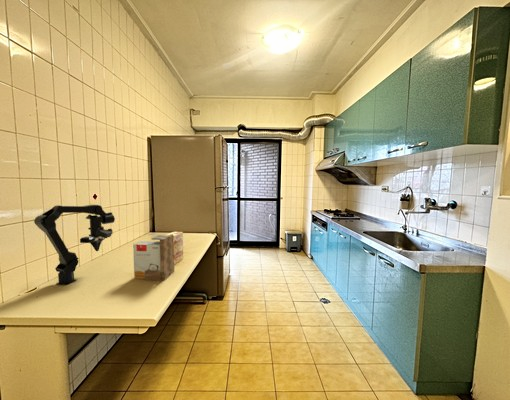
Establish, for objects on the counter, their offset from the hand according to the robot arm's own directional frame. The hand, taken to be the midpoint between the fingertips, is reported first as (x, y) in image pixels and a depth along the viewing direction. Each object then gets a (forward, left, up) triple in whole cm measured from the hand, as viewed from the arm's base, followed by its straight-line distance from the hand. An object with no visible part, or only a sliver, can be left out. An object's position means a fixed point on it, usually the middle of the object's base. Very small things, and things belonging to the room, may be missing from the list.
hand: (97, 251), depth 147 cm
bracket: (-2, -41, -13) cm, 43 cm away
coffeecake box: (+22, -38, -13) cm, 46 cm away
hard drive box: (-4, -35, -13) cm, 38 cm away
